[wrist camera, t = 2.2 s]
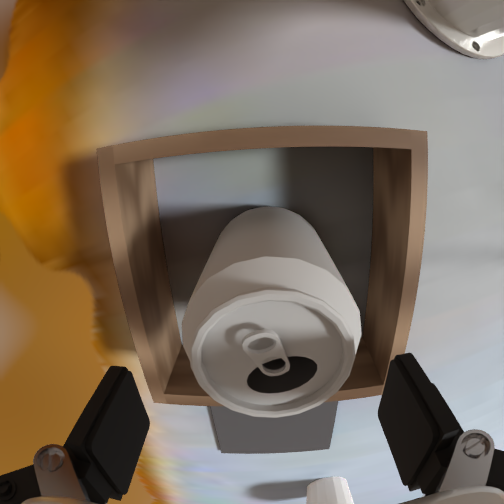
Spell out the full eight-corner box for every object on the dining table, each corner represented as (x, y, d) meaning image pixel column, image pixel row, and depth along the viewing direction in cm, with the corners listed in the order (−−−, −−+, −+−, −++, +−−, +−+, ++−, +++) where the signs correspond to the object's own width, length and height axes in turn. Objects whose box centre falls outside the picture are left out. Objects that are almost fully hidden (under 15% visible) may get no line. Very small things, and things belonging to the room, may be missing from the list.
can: (241, 316, 24) (226, 443, 12) (198, 228, 22) (133, 318, 10) (334, 281, 23) (386, 397, 11) (299, 186, 20) (343, 239, 9)
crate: (138, 146, 20) (96, 148, 14) (385, 133, 19) (427, 131, 13) (172, 354, 25) (153, 402, 20) (371, 345, 24) (393, 392, 19)
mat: (205, 376, 26) (204, 379, 26) (341, 370, 25) (342, 373, 25) (221, 450, 30) (221, 453, 30) (328, 446, 29) (329, 448, 29)
